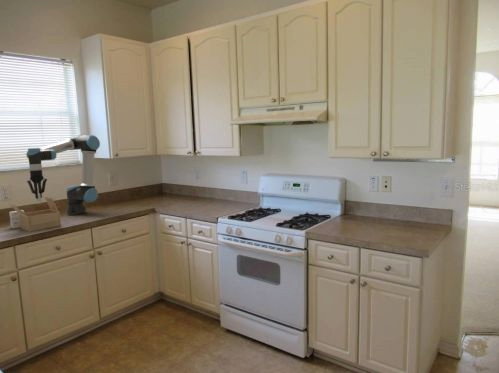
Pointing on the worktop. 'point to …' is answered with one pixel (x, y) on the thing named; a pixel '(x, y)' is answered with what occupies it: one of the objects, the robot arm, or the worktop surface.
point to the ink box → (15, 219)
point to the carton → (40, 220)
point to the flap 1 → (17, 209)
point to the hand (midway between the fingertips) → (39, 202)
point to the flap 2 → (51, 203)
